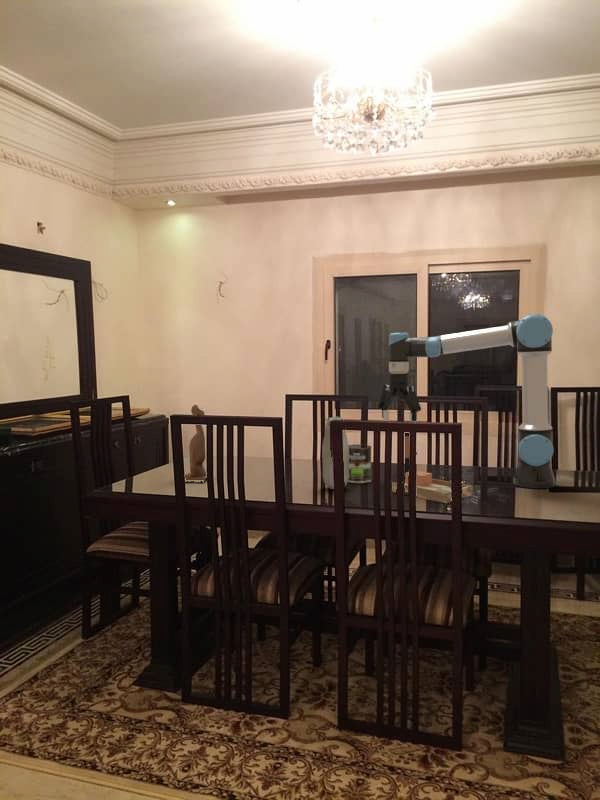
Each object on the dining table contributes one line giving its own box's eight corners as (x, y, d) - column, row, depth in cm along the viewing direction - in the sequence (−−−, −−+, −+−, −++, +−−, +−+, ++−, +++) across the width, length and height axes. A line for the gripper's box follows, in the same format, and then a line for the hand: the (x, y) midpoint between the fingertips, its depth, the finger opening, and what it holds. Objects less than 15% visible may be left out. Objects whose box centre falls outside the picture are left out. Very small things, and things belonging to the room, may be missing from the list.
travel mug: (415, 479, 256) (415, 430, 254) (397, 478, 259) (396, 430, 257) (418, 475, 263) (418, 428, 262) (400, 474, 266) (400, 427, 264)
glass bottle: (348, 492, 236) (347, 418, 234) (321, 491, 238) (320, 418, 235) (350, 486, 246) (349, 415, 243) (324, 485, 248) (323, 415, 245)
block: (415, 480, 244) (415, 470, 244) (432, 483, 238) (432, 473, 238) (405, 483, 240) (405, 472, 240) (422, 486, 234) (422, 475, 234)
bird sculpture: (206, 484, 256) (206, 406, 253) (179, 483, 258) (179, 405, 255) (215, 478, 267) (215, 404, 264) (188, 477, 269) (188, 403, 266)
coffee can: (369, 483, 250) (369, 448, 249) (344, 482, 252) (343, 448, 251) (373, 478, 260) (372, 444, 259) (348, 477, 262) (348, 444, 261)
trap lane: (415, 484, 247) (415, 475, 247) (472, 495, 227) (472, 485, 227) (388, 491, 236) (388, 482, 236) (446, 503, 217) (446, 493, 217)
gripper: (368, 372, 249) (369, 426, 251) (418, 374, 231) (418, 431, 233) (381, 371, 254) (381, 424, 256) (430, 373, 236) (430, 429, 238)
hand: (399, 428), depth 244 cm, fingers open, 12 cm apart
